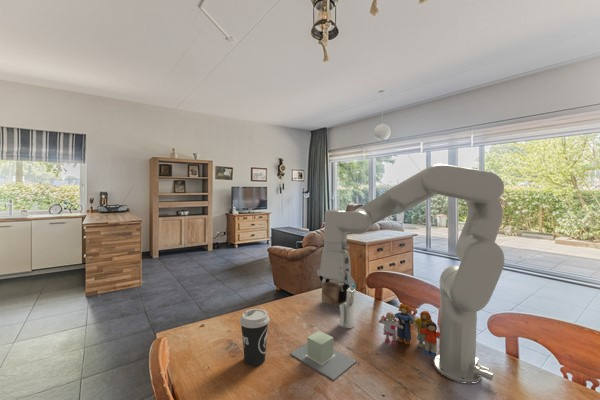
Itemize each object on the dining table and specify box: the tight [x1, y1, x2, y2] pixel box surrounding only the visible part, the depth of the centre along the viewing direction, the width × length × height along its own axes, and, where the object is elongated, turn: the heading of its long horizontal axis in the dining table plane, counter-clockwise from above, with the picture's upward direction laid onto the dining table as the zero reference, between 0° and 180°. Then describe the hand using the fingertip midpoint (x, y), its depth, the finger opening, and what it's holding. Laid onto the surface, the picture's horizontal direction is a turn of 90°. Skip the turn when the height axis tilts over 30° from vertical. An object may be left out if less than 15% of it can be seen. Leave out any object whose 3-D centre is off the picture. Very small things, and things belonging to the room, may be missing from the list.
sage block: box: [307, 330, 334, 364], centre depth 90 cm, size 6×6×6 cm
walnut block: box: [321, 280, 347, 307], centre depth 93 cm, size 6×6×6 cm
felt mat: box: [289, 342, 358, 381], centre depth 90 cm, size 18×12×1 cm, turn 46°
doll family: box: [378, 303, 440, 358], centre depth 98 cm, size 21×10×13 cm, turn 60°
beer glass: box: [338, 286, 357, 329], centre depth 111 cm, size 7×7×15 cm
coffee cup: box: [239, 308, 271, 367], centre depth 88 cm, size 10×10×15 cm
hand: (334, 298), depth 93 cm, fingers closed on walnut block, 6 cm apart
